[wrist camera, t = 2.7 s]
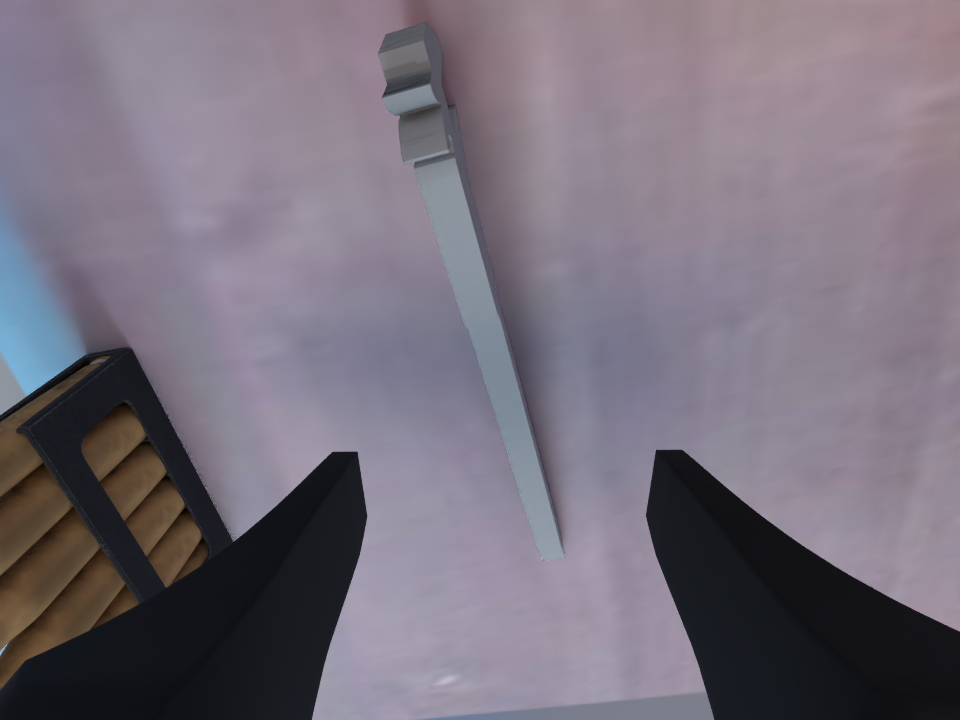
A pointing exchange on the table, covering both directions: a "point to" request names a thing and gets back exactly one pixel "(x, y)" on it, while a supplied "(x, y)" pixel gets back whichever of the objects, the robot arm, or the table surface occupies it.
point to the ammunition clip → (93, 506)
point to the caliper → (465, 254)
